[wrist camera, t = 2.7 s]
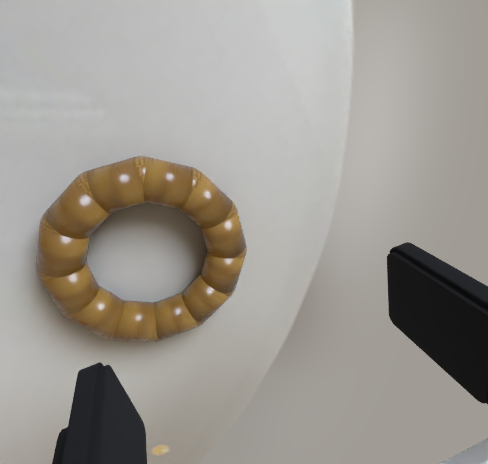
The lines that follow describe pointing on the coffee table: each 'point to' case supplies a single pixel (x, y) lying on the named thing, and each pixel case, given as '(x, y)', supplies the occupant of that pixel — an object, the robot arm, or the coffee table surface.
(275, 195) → the coffee table surface
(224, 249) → the ring
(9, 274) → the coffee table surface
